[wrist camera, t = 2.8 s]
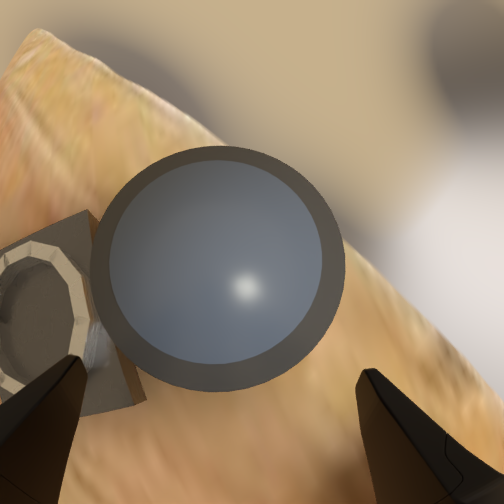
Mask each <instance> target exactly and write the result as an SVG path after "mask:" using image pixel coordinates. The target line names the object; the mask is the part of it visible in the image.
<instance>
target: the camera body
mask: <svg viewBox="0 0 504 504" xmlns="http://www.w3.org/2000/svg"><path fill="white" fill-rule="evenodd" d="M99 224H100V223H99V222H98V221H97V219H96V218H95V217H94V216H93V215H92V214H91V213H90V212H89V211H88V209H87V210H84V211H82V212H80V213H77V214H75V215H73V216H70V217H68V218H66V219H64V220H61V221H59V222H57V223H55V224H52V225H50V226H48V227H46V228H44V229H42V230H40V231H37V232H35V233H33V234H31V235H29V236H27V237H25V238H23V239H21V240H19V241H17V242H15V243H13V244H11V245H9V246H7V247H5V248H3V249H2V250H0V396H1V400H2V403H4V402H5V401H6V400H7V399H9V398H10V397H11V396H13V395H14V394H15V393H17V392H18V391H19V390H21V389H22V388H23V387H25V386H26V385H27V384H29V383H30V382H31V381H33V380H34V379H35V378H37V377H38V376H39V375H41V374H42V373H43V372H45V371H46V370H48V369H49V368H50V367H52V366H53V365H54V364H56V363H57V362H58V361H60V360H61V359H63V358H64V357H65V356H67V355H69V354H72V355H77V356H79V357H80V358H81V359H82V362H83V364H84V366H85V368H86V371H87V374H88V380H87V384H86V389H85V393H84V398H83V403H82V408H81V413H80V417H83V416H88V415H93V414H98V413H103V412H108V411H112V410H117V409H121V408H125V407H130V406H134V405H136V404H139V403H141V402H143V401H146V400H147V399H146V396H145V393H144V391H143V388H142V385H141V382H140V379H139V376H138V373H137V371H136V368H135V365H134V363H133V362H132V361H131V360H130V359H128V358H127V357H126V356H125V355H124V354H123V353H122V351H121V350H120V349H119V348H118V347H117V346H116V345H115V344H114V342H113V341H112V339H111V338H110V336H109V335H108V333H107V332H106V330H105V328H104V326H103V324H102V322H101V320H100V318H99V316H98V313H97V310H96V307H95V304H94V300H93V296H92V290H91V284H90V259H91V250H92V246H93V242H94V237H95V234H96V231H97V229H98V226H99Z"/></svg>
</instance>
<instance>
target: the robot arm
mask: <svg viewBox="0 0 504 504" xmlns="http://www.w3.org/2000/svg"><path fill="white" fill-rule="evenodd" d="M87 380H88V374H87V371H86V368H85V366H84V364H83V362H82V359H81V358H80V357H79V356H77V355H72V354H69V355H67V356H65V357H64V358H63V359H61V360H60V361H58V362H57V363H56V364H54V365H53V366H52V367H50V368H49V369H48V370H46V371H45V372H43V373H42V374H41V375H39V376H38V377H37V378H35V379H34V380H33V381H31V382H30V383H29V384H27V385H26V386H25V387H23V388H22V389H21V390H19V391H18V392H17V393H15V394H14V395H13V396H11V397H10V398H9V399H7V400H6V401H5V402H4V403H2V404H1V405H0V504H58V500H59V495H60V490H61V486H62V481H63V477H64V473H65V468H66V464H67V460H68V457H69V453H70V449H71V445H72V442H73V438H74V435H75V431H76V428H77V425H78V421H79V418H80V413H81V408H82V403H83V398H84V393H85V389H86V384H87ZM355 393H356V400H357V407H358V415H359V422H360V430H361V435H362V439H363V443H364V447H365V451H366V456H367V460H368V464H369V469H370V473H371V478H372V482H373V487H374V492H375V496H376V501H377V504H504V474H502V473H499V472H498V471H496V470H495V469H493V468H492V467H490V466H489V465H487V464H486V463H485V462H483V461H482V460H480V459H479V458H478V457H476V456H475V455H473V454H472V453H471V452H469V451H468V450H467V449H465V448H464V447H463V446H462V445H461V444H459V443H458V442H457V441H456V440H455V439H454V438H452V437H451V436H450V435H449V434H448V433H446V431H445V430H443V429H442V428H441V427H440V426H439V425H438V424H437V423H436V422H435V421H433V420H432V419H431V418H430V417H429V416H428V415H427V414H426V413H425V412H424V411H422V410H421V409H420V408H419V407H418V406H417V405H416V404H415V403H414V402H412V401H411V400H410V399H409V398H408V397H407V396H406V395H405V394H404V393H402V392H401V391H400V390H399V389H398V388H397V387H396V386H395V385H394V384H393V383H391V382H390V381H389V380H388V379H387V378H386V377H385V376H384V375H383V374H382V373H380V372H379V371H378V370H377V369H375V368H369V369H364V370H363V371H362V372H361V375H360V377H359V379H358V382H357V384H356V387H355Z"/></svg>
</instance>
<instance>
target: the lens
mask: <svg viewBox="0 0 504 504" xmlns="http://www.w3.org/2000/svg"><path fill="white" fill-rule="evenodd" d="M344 279H345V253H344V247H343V241H342V237H341V234H340V231H339V228H338V225H337V222H336V220H335V218H334V216H333V214H332V212H331V209H330V208H329V206H328V205H327V203H326V202H325V200H324V198H323V197H322V196H321V195H320V193H319V192H318V191H317V190H316V189H315V187H314V186H313V185H312V184H311V183H310V182H309V181H308V180H307V179H305V177H303V176H302V175H301V174H300V173H298V172H297V171H296V170H294V169H293V168H291V167H290V166H288V165H287V164H285V163H283V162H281V161H280V160H278V159H276V158H273V157H271V156H269V155H266V154H264V153H260V152H257V151H254V150H250V149H245V148H239V147H232V146H207V147H200V148H194V149H189V150H185V151H182V152H178V153H175V154H173V155H170V156H168V157H165V158H163V159H161V160H159V161H157V162H155V163H153V164H152V165H150V166H148V167H147V168H145V169H144V170H143V171H141V172H140V173H138V174H137V175H136V176H135V177H134V178H132V179H131V180H130V181H129V182H128V183H127V184H126V185H125V186H124V187H123V188H122V189H121V190H120V192H119V193H118V194H117V195H116V196H115V198H114V199H113V201H112V202H111V203H110V205H109V206H108V208H107V210H106V212H105V213H104V215H103V217H102V219H101V221H100V224H99V226H98V229H97V231H96V234H95V237H94V242H93V246H92V250H91V259H90V284H91V290H92V296H93V300H94V304H95V307H96V310H97V313H98V316H99V318H100V320H101V322H102V324H103V326H104V328H105V330H106V332H107V333H108V335H109V336H110V338H111V339H112V341H113V342H114V344H115V345H116V346H117V347H118V348H119V349H120V350H121V351H122V353H123V354H124V355H125V356H126V357H127V358H128V359H130V360H131V361H132V362H133V363H134V364H135V365H137V366H138V367H139V368H140V369H142V370H144V371H145V372H147V373H149V374H150V375H152V376H153V377H155V378H157V379H160V380H162V381H164V382H166V383H169V384H171V385H174V386H178V387H182V388H185V389H189V390H196V391H204V392H229V391H235V390H241V389H246V388H250V387H253V386H256V385H259V384H262V383H265V382H267V381H269V380H271V379H273V378H275V377H277V376H279V375H281V374H283V373H285V372H286V371H288V370H289V369H291V368H292V367H293V366H295V365H296V364H298V363H299V362H300V361H301V360H302V359H303V358H304V357H305V356H307V355H308V354H309V353H310V352H311V351H312V350H313V349H314V347H315V346H316V345H317V344H318V342H319V341H320V340H321V339H322V337H323V336H324V334H325V333H326V331H327V329H328V328H329V326H330V324H331V323H332V321H333V319H334V316H335V314H336V311H337V309H338V307H339V304H340V300H341V296H342V292H343V288H344Z"/></svg>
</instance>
